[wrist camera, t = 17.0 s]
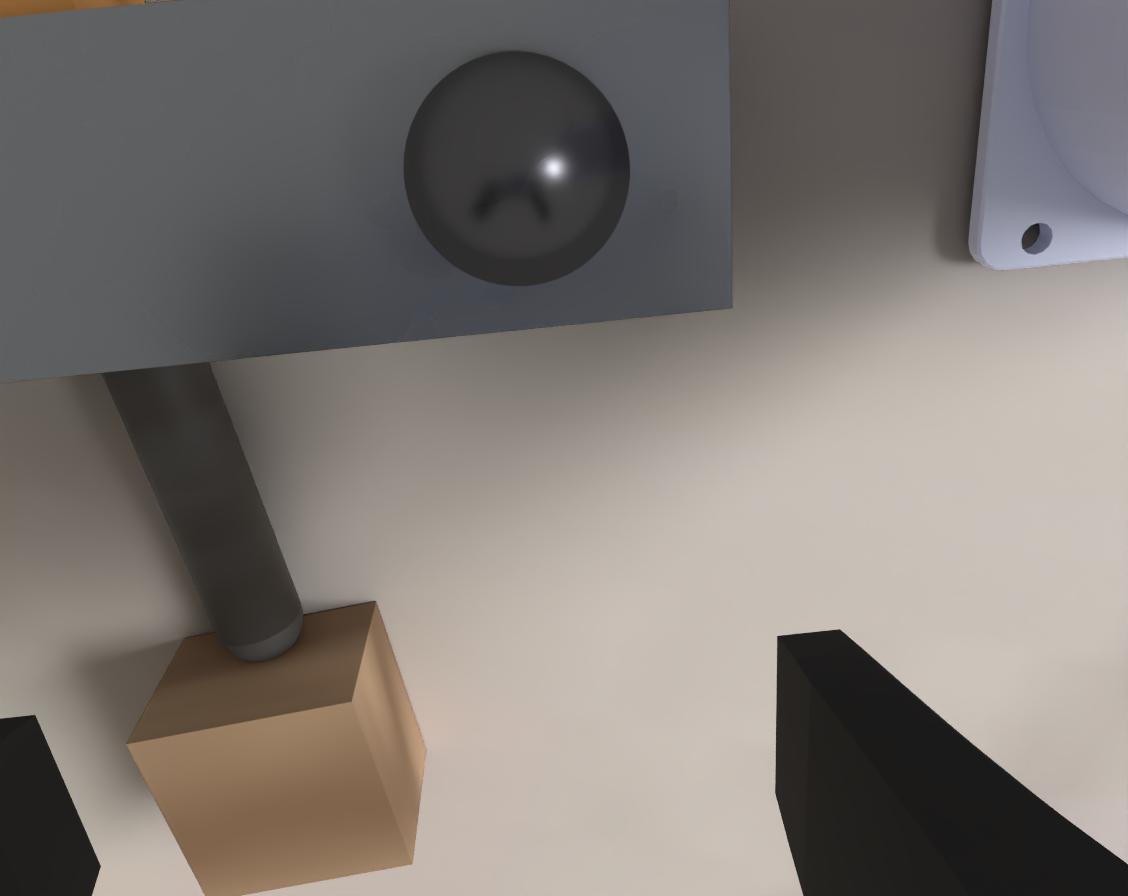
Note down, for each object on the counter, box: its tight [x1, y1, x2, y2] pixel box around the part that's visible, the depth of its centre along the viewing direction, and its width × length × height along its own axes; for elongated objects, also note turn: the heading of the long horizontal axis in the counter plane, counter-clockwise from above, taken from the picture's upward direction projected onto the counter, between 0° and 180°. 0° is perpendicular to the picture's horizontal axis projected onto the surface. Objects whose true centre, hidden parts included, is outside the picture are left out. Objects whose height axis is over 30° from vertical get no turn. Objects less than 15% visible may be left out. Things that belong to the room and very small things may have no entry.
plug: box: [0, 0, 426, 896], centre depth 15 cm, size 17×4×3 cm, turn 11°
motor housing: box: [0, 0, 732, 383], centre depth 12 cm, size 16×4×5 cm, turn 95°
